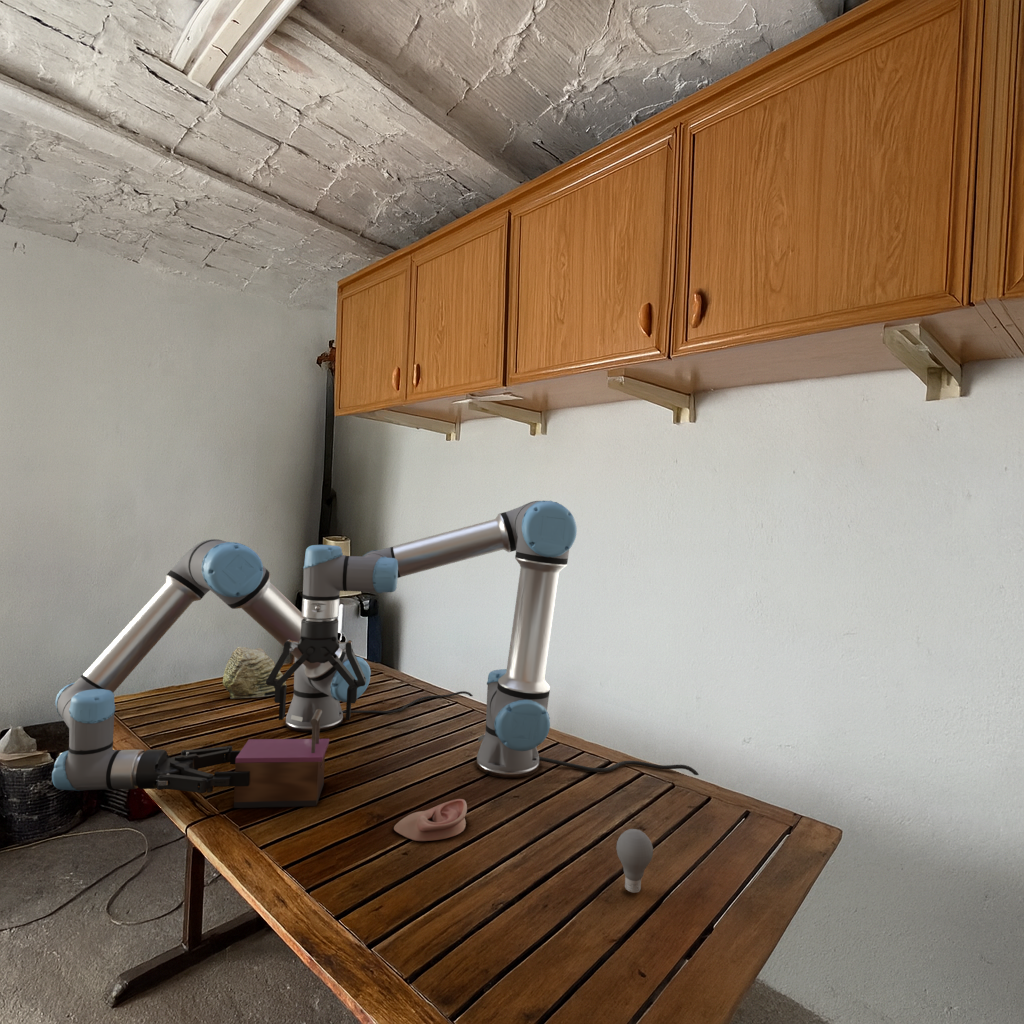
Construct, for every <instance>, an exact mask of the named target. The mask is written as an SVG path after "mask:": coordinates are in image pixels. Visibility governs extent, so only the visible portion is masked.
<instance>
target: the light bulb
mask: <svg viewBox="0 0 1024 1024" xmlns="http://www.w3.org/2000/svg"><path fill="white" fill-rule="evenodd" d="M615 849H616V854H617V857H618V859H619V861H620V863H621V865H622V867H623V873H624V874H623V875H624V876H625V878H624V888H625V890H627V891H628V892H630V893H634V894H635V893H639V892H640V891H641V889H642V887H641V886H642V879H643V877H644V875H645V871H646V868H647V867H648V866H649V864H650V863H651V861H652V859H653V855H654V847H653V843H652V841H651V838H649V836H648V835H647V834H646V833H645V832H643V831H642V830H641V829H636V828H629V829H627V830H625V831H623V832H622V833H621V834H620V835H619V837H618V839H617V841H616V847H615Z"/></svg>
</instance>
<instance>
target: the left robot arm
mask: <svg viewBox="0 0 1024 1024" xmlns="http://www.w3.org/2000/svg"><path fill="white" fill-rule="evenodd" d="M210 591H211V592H212V593H213V594H214V595H215V596H217V597H218V598H219V599H220V600H221V601H222V602H223V603H224V604H226V605H227V606H228V607H229V608H230V609H232V610H238V609H242V610H243V611H244V612H245V613H246V614H247V615H248V616H249V617H250V618H252V619H253V620H254V621H255V622H256V623H257V624H258V625H259V626H261V628H262V629H264V630H265V631H266V632H267V633H268V634H269V635H270V636H271V637H273V638H274V639H275V640H276V642H278V643H279V644H280V645H281V646H282V647H284V643H285V642H286V641H287V640H288V639H291V640H292V641H297V642H299V641H300V638H301V621H302V620H303V619H304V617H303V616H302V611H301V610H300V609H298V608H297V607H296V606H295V604H293V602H291V600H289V598H287V597H286V596H285V595H284V594H283V592H281V591H280V590H279V589H278V588H277V587H276V586H275V585H274V584H273V583H272V582H271V572H270V571H269V570H268V569H267V568H266V567H265V566H264V565H263V561H262V559H261V557H260V556H259V555H258V554H257V552H256V551H255V550H253V549H252V548H250V546H247V545H246V544H243V543H240V542H234V541H231V542H230V541H227V540H226V541H225V540H222V539H215V538H211V539H206V540H203V541H201V542H199V543H197V544H195V545H194V546H193V547H190V549H189V550H188V551H187V552H185V554H184V555H183V556H182V557H181V558H180V559H179V560H178V561H177V562H176V563H175V565H174V566H173V567H172V568H171V569H170V570H169V571H168V573H166V575H165V582H164V584H163V585H162V586H161V587H160V588H159V589H158V590H157V591H156V592H155V593H154V595H153V596H152V597H151V598H150V599H149V600H148V601H147V602H146V604H144V606H143V607H142V608H141V609H140V610H139V612H138V613H136V614H135V616H134V617H133V618H132V619H131V620H130V621H129V622H128V623H127V625H125V627H124V628H123V629H122V630H121V631H120V632H119V633H118V635H116V637H115V638H114V639H113V640H112V641H111V642H110V644H108V646H106V648H105V649H104V650H103V651H102V652H101V653H100V655H99V656H98V657H97V658H96V659H95V660H94V661H93V662H92V663H91V665H90V666H88V668H87V669H86V670H85V671H84V672H83V673H82V674H81V675H80V676H79V677H78V679H77V680H75V682H71V683H69V684H68V683H67V685H65V686H63V687H62V688H61V689H60V690H59V692H58V693H57V695H56V697H55V702H54V704H55V708H56V713H57V714H58V716H59V717H60V718H61V719H62V720H63V721H64V723H65V725H66V726H67V728H68V730H69V731H68V732H69V733H68V734H69V735H68V736H69V737H68V750H65V751H63V752H62V753H60V754H59V756H57V758H56V759H55V762H54V764H53V769H52V772H51V782H52V784H53V786H54V787H55V788H56V789H57V790H61V791H76V792H81V791H82V792H84V791H102V790H103V791H104V790H106V791H107V790H123V791H124V792H128V791H129V790H136V789H139V790H172V791H180V792H190V793H197V794H198V793H199V794H204V793H212V792H213V791H214V788H220V787H221V788H223V787H224V788H226V787H233V788H234V787H235V786H249V777H250V771H239V772H235V771H214V774H213V773H210V772H205V771H202V770H200V769H203V768H207V767H208V768H209V767H212V766H218V765H223V764H227V763H229V765H235V761H236V757H237V756H238V754H239V753H240V751H241V750H242V749H240V750H233V745H227V746H217V747H207V748H199V749H183V750H181V752H180V755H176V756H169V754H168V752H167V750H166V749H162V748H161V749H147V750H145V749H141V748H140V749H139V748H138V749H114V731H115V712H116V704H115V694H114V693H115V692H116V690H117V689H119V687H120V686H121V685H122V684H123V683H124V681H125V680H126V679H127V678H128V677H129V676H130V674H131V673H132V672H133V671H134V670H135V669H136V668H137V667H138V665H139V664H140V663H141V662H142V661H143V660H144V659H145V657H146V656H147V655H148V654H149V653H150V652H151V650H152V649H153V648H154V647H155V646H156V645H157V644H158V643H159V641H160V640H161V639H162V638H163V637H164V636H165V634H167V632H168V631H169V630H170V629H171V628H172V626H173V625H174V624H175V623H176V622H177V621H178V619H180V617H181V616H182V615H183V614H184V613H185V611H187V610H188V608H189V607H190V606H191V605H192V604H193V603H194V602H197V601H201V600H202V599H204V597H205V595H206V594H207V593H208V592H210ZM338 641H339V643H340V642H341V641H340V640H339V639H338ZM289 654H291V655H292V656H293V657H294V663H295V662H296V661H297V660H298V659H299V658H300V656H301V655H302V653H301V652H300V650H299V649H298V647H296V648H295V649H294V650H293V651H292V652H290V653H289ZM335 654H336V655H337V656H338V658H339V660H340V661H341V662H342V663H343V665H344V666H345V667H346V668H347V669H348V671H349V672H350V673H351V674H352V676H353V677H354V678H355V679H356V680H358V679H357V677H356V675H355V673H354V671H353V669H352V666H351V664H350V662H349V660H348V658H347V655H346V653H344V652H343V651H342V649H341V648H339V649H338V650H337V651H336V653H335ZM355 656H356V655H355ZM356 658H357V660H358V662H359V665H360V667H361V669H362V671H363V673H364V675H365V678H366V683H365V685H364V686H360V687H358V688H357V699H359V698H360V697H361V696H362V695H363V694H364V693H365V692H366V690H367V689H368V687H369V684H370V682H371V675H372V670H371V666H370V665H369V662H367V661H366V660H365V659H364V658H363V657H361V656H356ZM348 686H349V685H348V683H347V682H346V681H345V680H344V678H343V677H342V676H341V675H340V674H339V672H338V671H337V670H336V669H335V667H334V666H332V665H331V664H330V662H329V661H328V662H325V663H319V662H316V663H310V662H308V661H307V660H305V661H304V663H303V664H302V665H301V666H300V667H299V668H298V669H297V670H296V671H295V672H294V673H293V695H292V696H293V697H292V699H291V702H290V704H289V708H288V711H287V713H286V714H285V726H286V728H287V729H289V730H291V731H294V732H295V731H296V732H301V733H312V724H311V720H312V717H313V715H314V713H315V711H316V710H317V709H321V710H322V714H321V716H320V731H319V732H325V731H329V730H332V729H335V728H337V727H339V726H340V725H342V723H343V722H344V714H346V710H343V709H342V706H341V702H343V703H347V689H348ZM463 694H464V695H467V696H469V697H473V696H474V695H473V694H472V693H471V692H469V691H464V690H463V691H456V692H453V693H448V694H438V695H437V694H435V695H427V696H422V697H418V698H416V699H414V700H412V701H411V702H409V703H407V704H405V705H403V706H402V707H399V708H396V709H393V710H366V709H365V710H364V709H363V710H360V709H359V710H352V709H351V714H380V715H381V714H382V715H383V714H385V715H387V714H395V713H399V712H402V711H404V710H405V709H406V708H408V707H410V706H413V705H414V704H415V703H417V702H420V701H423V700H427V699H439V698H450V697H453V696H457V695H463Z"/></svg>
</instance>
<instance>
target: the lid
mask: <svg viewBox="0 0 1024 1024" xmlns="http://www.w3.org/2000/svg"><path fill="white" fill-rule="evenodd" d="M321 714H322V710H321V709H317V710H316V711H315V713H314V715H313V717H312V720H311V724H312V732H311V738H259V739H258V738H254V739H253V738H251V739H250V738H249V739H248V740H247V742H245V744H244V746H243V747H242V749H240V750H241V751H240V753H239V754H238V756H237V757H236V761H235V763H260V762H322V761H323V758H324V755H325V756H326V753H327V749H328V747H329V744H330V738H320V732H321V731H320V716H321Z"/></svg>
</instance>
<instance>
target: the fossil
mask: <svg viewBox="0 0 1024 1024" xmlns="http://www.w3.org/2000/svg"><path fill="white" fill-rule="evenodd" d="M275 665H276V663H275V662H274V660H273V659H272V658H271V657H270V656H269V655H268V654H267V653H266V652H265V650H264V649H263V648H260V647H258V648H251V647H247V646H246V647H245V646H238V647H237V648H236V649H235V650H233V651H232V653H231V656H230V657H229V659H228V660H227V663H226V666H225V668H224V671H223V675H222V676H223V677H222V685H223V687H224V688H225V690H226V691H228V693H229V698H230V699H250V698H264V697H271V696H275V688H274V686H271V685H267V684H266V680H267V679H268V677H269V675H270V674H271V672H272V670H273V668H274V667H275ZM283 675H284V674H283V673H282V672H281V670H280V671H279V673H278V674H277V676H276V679H280V678H281V677H282V676H283ZM283 685H287V680H286V681H285V682H284V684H283ZM283 685H282V686H283ZM287 687H288V686H286V688H287Z"/></svg>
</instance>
